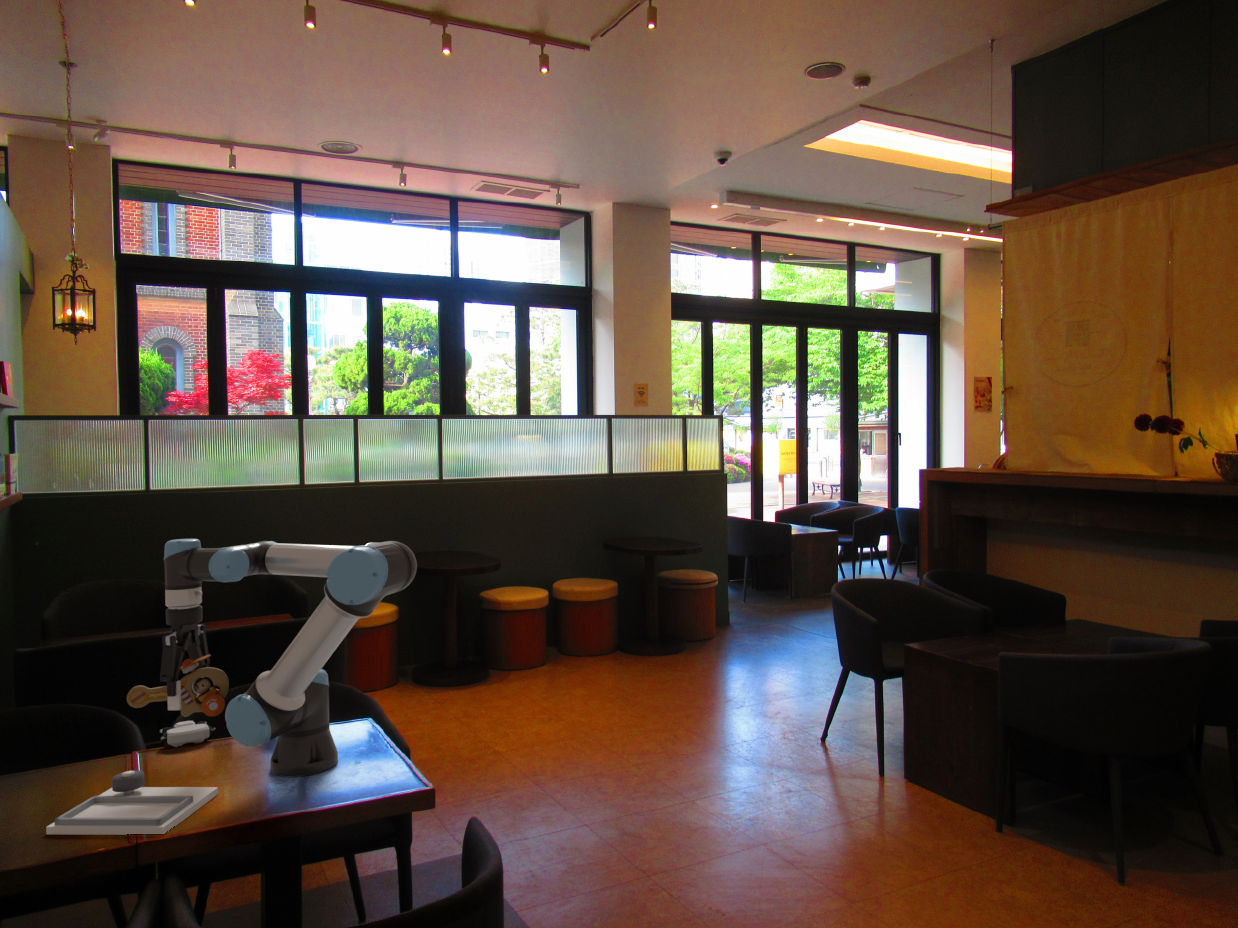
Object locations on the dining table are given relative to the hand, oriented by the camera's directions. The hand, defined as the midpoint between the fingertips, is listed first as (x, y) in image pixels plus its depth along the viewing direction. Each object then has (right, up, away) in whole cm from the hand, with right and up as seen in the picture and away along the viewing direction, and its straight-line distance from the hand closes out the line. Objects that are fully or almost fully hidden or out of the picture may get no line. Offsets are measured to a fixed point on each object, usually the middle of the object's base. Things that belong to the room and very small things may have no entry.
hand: (186, 703), depth 194 cm
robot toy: (-14, -18, +27) cm, 35 cm away
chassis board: (-1, -18, -19) cm, 26 cm away
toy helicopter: (0, -3, -1) cm, 3 cm away
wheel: (-6, -15, -12) cm, 20 cm away
